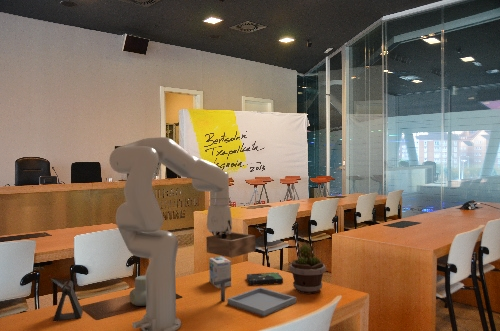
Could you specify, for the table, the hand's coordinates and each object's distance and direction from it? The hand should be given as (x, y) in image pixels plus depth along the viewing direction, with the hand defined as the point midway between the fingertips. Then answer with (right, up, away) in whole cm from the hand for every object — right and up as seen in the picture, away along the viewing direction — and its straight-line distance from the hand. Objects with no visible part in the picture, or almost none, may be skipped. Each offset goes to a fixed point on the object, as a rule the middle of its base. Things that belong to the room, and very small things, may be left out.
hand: (220, 248), depth 161 cm
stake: (+1, -19, -5) cm, 20 cm away
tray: (+16, -19, -8) cm, 26 cm away
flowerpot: (+36, -19, +7) cm, 41 cm away
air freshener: (-29, -20, -6) cm, 36 cm away
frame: (+5, 0, -4) cm, 6 cm away
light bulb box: (-1, -19, +17) cm, 26 cm away
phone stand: (-52, -20, -19) cm, 59 cm away
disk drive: (+18, -19, +20) cm, 33 cm away
